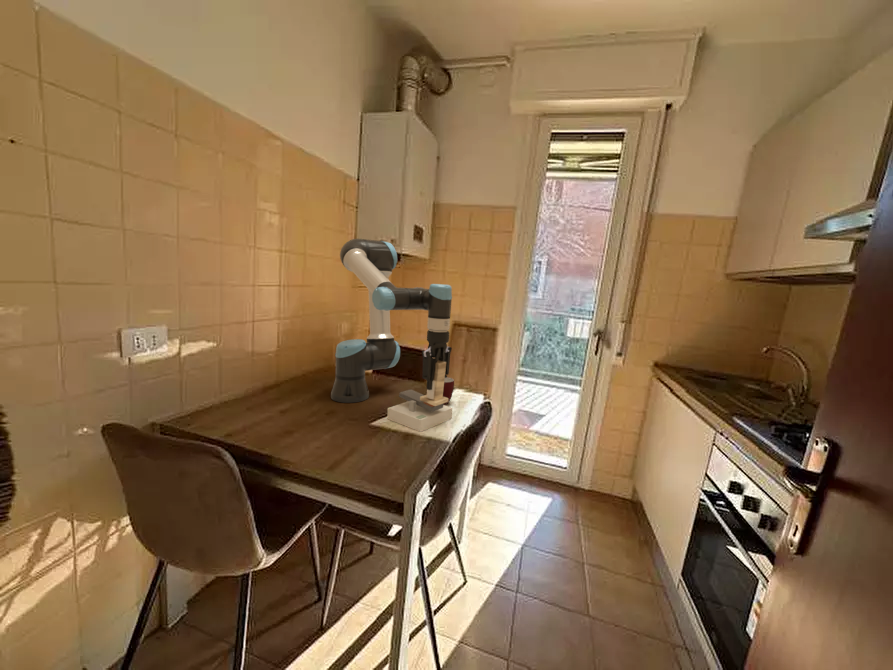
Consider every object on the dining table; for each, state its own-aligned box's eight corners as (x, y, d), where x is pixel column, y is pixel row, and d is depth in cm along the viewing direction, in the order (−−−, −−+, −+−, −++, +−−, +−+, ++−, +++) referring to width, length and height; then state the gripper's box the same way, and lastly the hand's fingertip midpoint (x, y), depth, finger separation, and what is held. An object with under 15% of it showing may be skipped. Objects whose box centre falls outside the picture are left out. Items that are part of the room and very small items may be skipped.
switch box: (387, 418, 134) (387, 398, 133) (419, 407, 148) (420, 388, 147) (420, 431, 125) (421, 410, 124) (451, 418, 138) (453, 398, 137)
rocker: (398, 396, 138) (399, 392, 137) (410, 393, 142) (410, 388, 142) (432, 411, 128) (432, 407, 128) (443, 407, 133) (443, 402, 133)
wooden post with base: (419, 400, 131) (423, 360, 128) (432, 395, 136) (436, 357, 133) (435, 406, 127) (439, 365, 124) (448, 401, 132) (452, 362, 129)
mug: (449, 409, 147) (451, 385, 145) (429, 407, 149) (430, 382, 147) (454, 401, 157) (455, 378, 156) (435, 399, 159) (436, 376, 157)
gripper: (430, 334, 118) (426, 405, 122) (462, 329, 132) (458, 394, 136) (413, 330, 123) (409, 399, 127) (445, 326, 136) (441, 389, 140)
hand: (434, 396), depth 131 cm, fingers closed on wooden post with base, 4 cm apart
